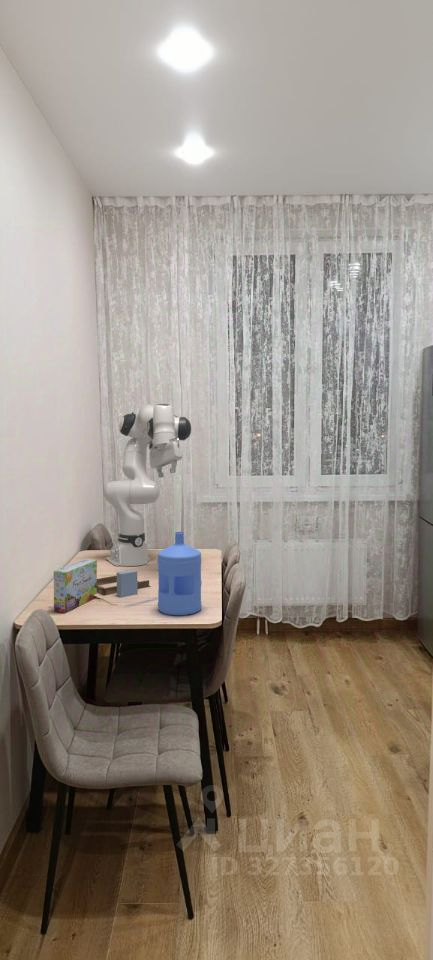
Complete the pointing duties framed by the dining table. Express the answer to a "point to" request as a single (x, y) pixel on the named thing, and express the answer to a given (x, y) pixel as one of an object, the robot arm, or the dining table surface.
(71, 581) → the snack box
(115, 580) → the frame
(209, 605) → the dining table surface
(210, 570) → the dining table surface
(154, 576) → the dining table surface
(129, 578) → the board
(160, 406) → the robot arm
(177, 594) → the water jug
